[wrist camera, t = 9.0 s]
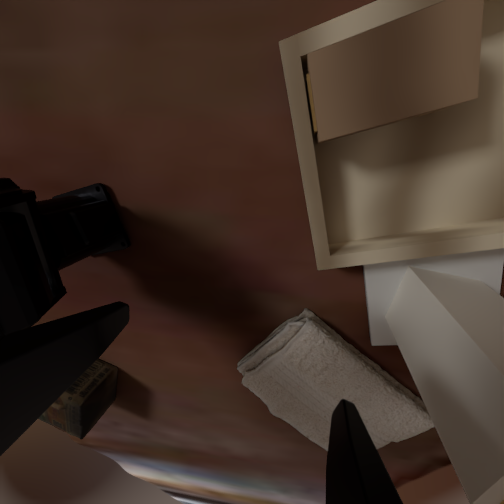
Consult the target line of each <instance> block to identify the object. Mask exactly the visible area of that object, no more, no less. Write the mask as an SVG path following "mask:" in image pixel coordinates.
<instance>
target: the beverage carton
mask: <svg viewBox="0 0 504 504" xmlns="http://www.w3.org/2000/svg"><path fill="white" fill-rule="evenodd" d="M117 372H118V368H117V367H115V366H113V365H111V364H108V363H106V362H104V361H101V360H99V359H97V360H96V361H95V362H94V363H93V364H92V365H91V366H90V367H89V368H88V369H87V370H86V371H85V372H84V373H83V374H82V375H81V376H80V377H79V378H78V379H77V380H76V381H75V382H74V383H73V384H72V385H71V386H70V387H69V388H68V389H67V390H66V391H65V392H64V393H63V394H62V395H61V396H60V397H59V398H58V399H57V400H56V401H55V402H54V403H53V404H52V405H51V406H50V407H49V408H48V409H47V410H46V411H45V412H44V413H43V414H42V415H41V416H40V417H39V418H38V419H40V420H42V421H44V422H46V423H48V424H50V425H52V426H54V427H56V428H58V429H60V430H62V431H64V432H67V433H68V434H70V435H73V436H76V437H78V438H80V439H83V438H84V437H85V436H86V435H87V433H88V432H89V431H90V430H91V429H92V427H93V426H94V425H95V424H96V423H97V421H98V420H99V419H100V418H101V416H102V415H103V414H104V413H105V411H106V410H107V409H108V408H109V407H110V405H111V404H112V403H113V401H114V400H115V397H116V384H117Z"/></svg>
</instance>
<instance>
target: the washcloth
mask: <svg viewBox="0 0 504 504" xmlns="http://www.w3.org/2000/svg"><path fill="white" fill-rule="evenodd" d="M237 369H238V370H239V372H240V373H242V375H243V376H244V377H243V379H242V383H243V385H244V386H245V387H247V388H249V389H250V391H252V392H253V393H254V394H255V395H257V396H258V397H259V398H260V399H261V400H262V401H263V402H264V403H265V404H266V405H267V407H268V409H269V411H270V413H271V414H273V415H274V416H276V417H279V418H281V419H283V420H284V421H286V422H287V423H289V424H290V425H292V426H293V427H294V428H296V429H297V430H298V431H299V432H300V433H302V434H303V435H304V436H305V437H308V438H309V439H310V440H311V441H313V442H314V443H316V444H318V445H319V446H321V447H322V448H324V449H325V450H327V451H328V445H329V436H330V426H331V417H332V413H333V411H334V409H335V408H336V406H337V405H338V403H339V402H340V400H341V399H346V400H348V401H350V402H352V403H354V404H355V406H356V408H357V410H358V412H359V414H360V416H361V418H362V420H363V422H364V424H365V426H366V428H367V430H368V433H369V435H370V437H371V439H372V441H373V443H374V445H375V447H376V449H379V448H380V447H383V446H385V445H387V444H389V443H390V442H391V441H394V442H399V441H402V440H405V439H408V438H410V437H413V436H415V435H418V434H419V433H423V432H424V431H428V430H429V429H430V428H433V427H435V426H434V424H433V421H432V419H431V417H430V415H429V413H428V410H427V408H426V406H425V404H424V402H423V401H422V400H421V399H419V397H416V396H415V395H414V394H413V393H412V392H411V391H410V390H409V389H407V388H406V387H404V386H402V385H401V384H400V383H399V382H397V381H396V379H394V378H393V377H392V376H390V375H389V374H388V373H387V372H386V371H384V370H382V369H381V368H380V366H379V365H377V364H376V363H374V362H373V361H372V360H369V359H368V357H366V356H365V355H363V354H361V353H360V352H359V351H358V350H357V349H355V348H354V347H353V345H351V344H348V343H347V342H346V341H345V340H344V339H342V337H341V336H340V335H339V334H337V333H336V332H335V330H333V329H331V328H330V327H329V326H327V325H326V324H325V323H324V322H323V321H322V320H321V319H320V318H319V317H317V316H316V315H315V314H314V313H313V312H312V311H310V310H308V309H307V308H305V309H304V311H303V312H302V313H301V314H300V315H299V316H296V317H294V318H291V319H288V320H287V321H286V322H284V323H283V324H281V325H280V326H279V327H278V328H276V329H275V330H274V331H273V332H272V333H271V334H270V335H269V336H268V337H267V338H266V339H265V340H264V341H263V342H261V343H260V344H259V345H257V346H256V347H255V348H254V349H253V350H252V351H251V352H249V353H248V354H247V355H246V356H245V357H243V358H242V360H240V361H239V363H238V367H237Z"/></svg>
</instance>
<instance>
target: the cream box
mask: <svg viewBox="0 0 504 504" xmlns="http://www.w3.org/2000/svg"><path fill="white" fill-rule="evenodd" d="M385 318H386V320H387V323H388V325H389V327H390V329H391V331H392V334H393V336H394V338H395V340H396V342H397V345H398V347H399V349H400V351H401V353H402V356H403V358H404V360H405V362H406V364H407V366H408V369H409V371H410V373H411V375H412V377H413V380H414V382H415V384H416V386H417V388H418V391H419V393H420V395H421V397H422V399H423V402H424V404H425V406H426V408H427V410H428V413H429V415H430V417H431V419H432V421H433V424H434V426H435V428H436V430H437V432H438V435H439V437H440V439H441V441H442V443H443V445H444V448H445V450H446V452H447V454H448V456H449V459H450V461H451V463H452V465H453V467H454V470H455V472H456V474H457V476H458V478H459V481H460V483H461V485H462V487H463V489H464V491H465V494H466V496H467V498H468V500H469V502H470V504H504V298H503V297H502V296H500V295H499V294H498V293H496V292H495V291H494V290H492V289H491V288H490V287H488V286H487V285H486V284H484V283H483V282H482V281H480V280H475V279H470V278H465V277H460V276H455V275H450V274H445V273H441V272H436V271H431V270H426V269H421V268H416V267H411V266H408V268H407V270H406V273H405V275H404V277H403V279H402V281H401V283H400V285H399V288H398V290H397V292H396V294H395V296H394V298H393V301H392V303H391V305H390V307H389V309H388V311H387V314H386V316H385Z"/></svg>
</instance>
